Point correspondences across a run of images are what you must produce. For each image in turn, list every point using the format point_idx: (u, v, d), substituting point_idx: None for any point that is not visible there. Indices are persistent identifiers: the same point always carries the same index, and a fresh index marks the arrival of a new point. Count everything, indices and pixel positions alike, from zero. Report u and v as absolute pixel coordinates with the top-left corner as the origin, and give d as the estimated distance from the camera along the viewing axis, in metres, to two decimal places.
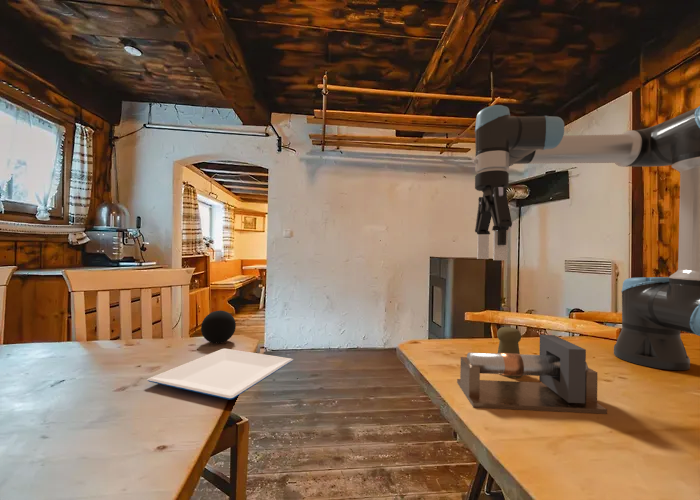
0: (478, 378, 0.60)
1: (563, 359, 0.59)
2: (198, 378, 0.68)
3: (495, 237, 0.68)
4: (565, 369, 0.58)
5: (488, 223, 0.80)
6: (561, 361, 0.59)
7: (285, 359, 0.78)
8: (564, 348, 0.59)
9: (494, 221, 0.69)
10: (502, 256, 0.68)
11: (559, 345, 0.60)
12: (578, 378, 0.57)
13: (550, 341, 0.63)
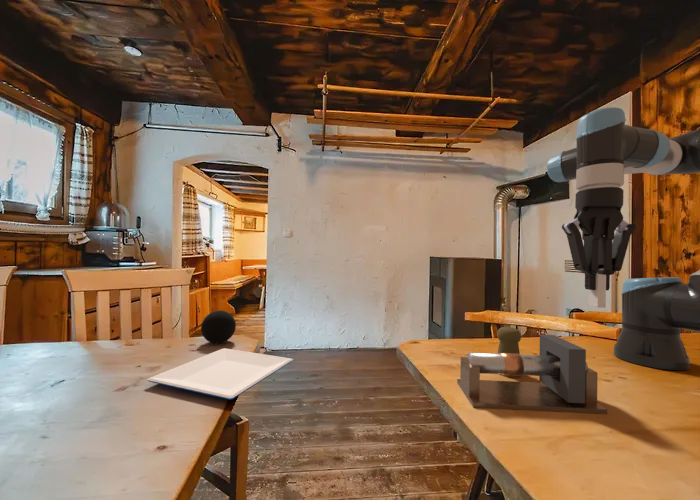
0: (478, 378, 0.60)
1: (563, 359, 0.59)
2: (198, 378, 0.68)
3: None
4: (565, 369, 0.58)
5: (604, 254, 0.61)
6: (561, 361, 0.59)
7: (285, 359, 0.78)
8: (564, 348, 0.59)
9: None
10: (594, 302, 0.61)
11: (559, 345, 0.60)
12: (578, 378, 0.57)
13: (550, 341, 0.63)
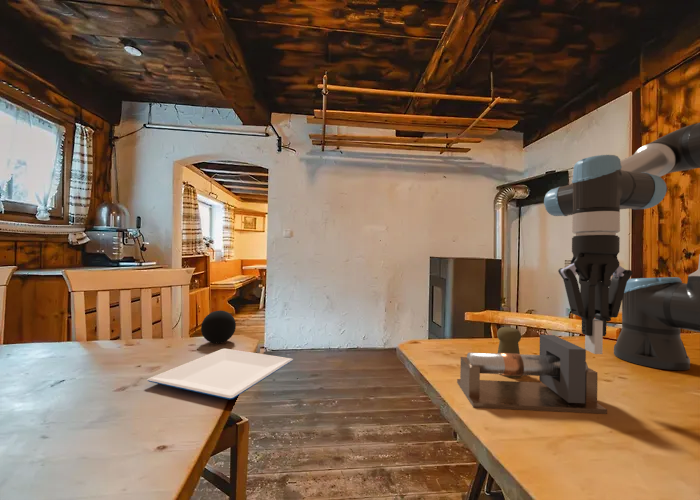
0: (478, 378, 0.60)
1: (563, 359, 0.59)
2: (198, 378, 0.68)
3: None
4: (565, 369, 0.58)
5: (600, 300, 0.61)
6: (561, 361, 0.59)
7: (285, 359, 0.78)
8: (564, 348, 0.59)
9: None
10: (591, 348, 0.61)
11: (559, 345, 0.60)
12: (578, 378, 0.57)
13: (550, 341, 0.63)
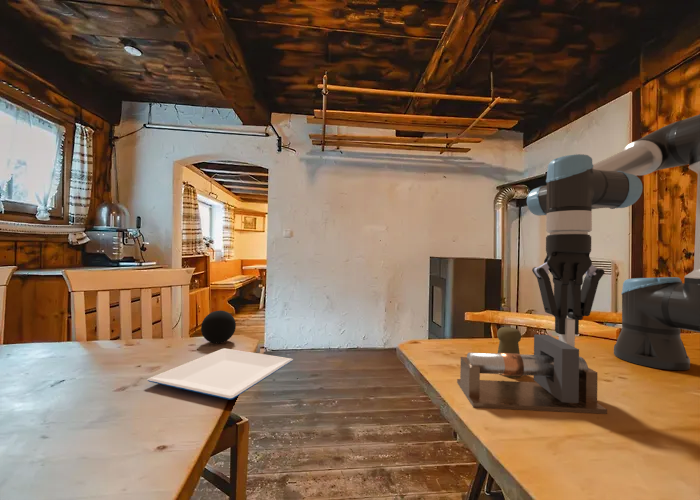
0: (478, 378, 0.60)
1: (557, 358, 0.59)
2: (198, 378, 0.68)
3: None
4: (559, 368, 0.58)
5: (573, 299, 0.61)
6: (555, 361, 0.60)
7: (285, 359, 0.78)
8: (557, 348, 0.59)
9: None
10: None
11: (553, 345, 0.60)
12: (571, 378, 0.57)
13: (544, 341, 0.63)
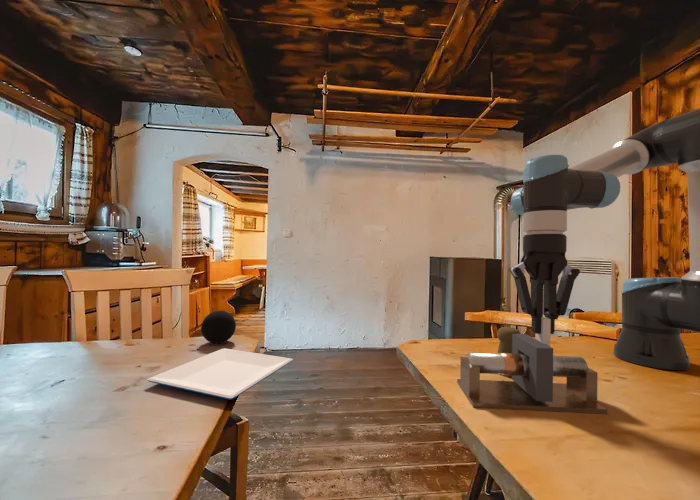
0: (478, 378, 0.60)
1: (532, 357, 0.59)
2: (198, 378, 0.68)
3: None
4: (533, 367, 0.59)
5: (549, 298, 0.62)
6: (530, 360, 0.60)
7: (285, 359, 0.78)
8: (532, 347, 0.59)
9: None
10: None
11: (528, 344, 0.61)
12: (546, 377, 0.58)
13: (521, 340, 0.64)
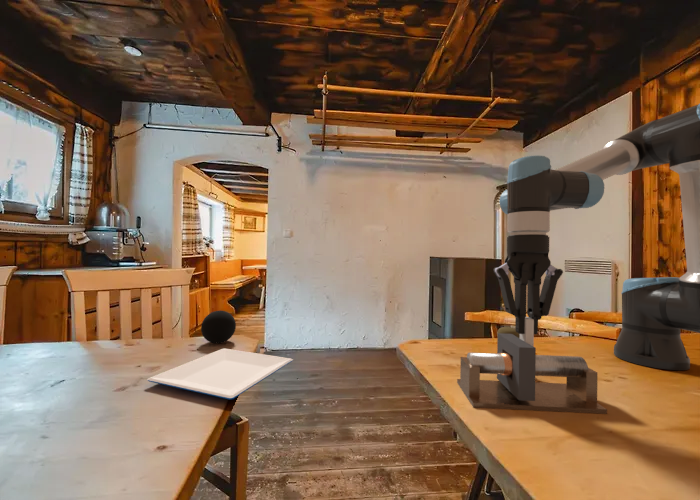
0: (478, 378, 0.60)
1: (515, 357, 0.60)
2: (198, 378, 0.68)
3: None
4: (516, 367, 0.59)
5: (532, 299, 0.62)
6: (513, 359, 0.60)
7: (285, 359, 0.78)
8: (515, 346, 0.59)
9: None
10: None
11: (512, 343, 0.61)
12: (528, 376, 0.58)
13: (505, 339, 0.64)
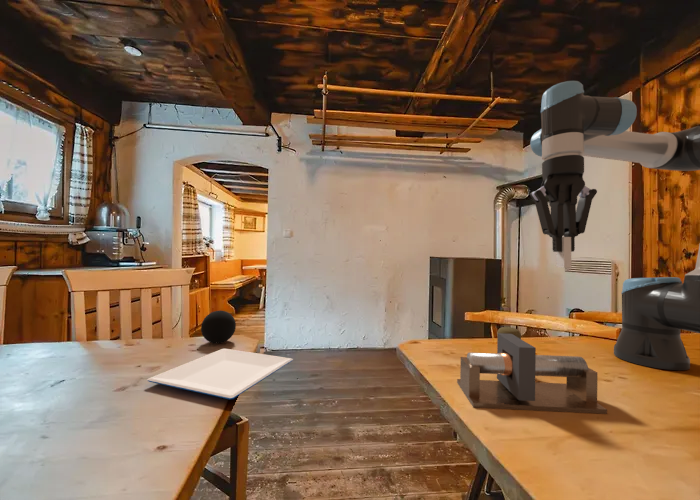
0: (478, 378, 0.60)
1: (515, 357, 0.60)
2: (198, 378, 0.68)
3: None
4: (516, 367, 0.59)
5: (569, 218, 0.66)
6: (513, 359, 0.60)
7: (285, 359, 0.78)
8: (515, 346, 0.59)
9: None
10: (561, 263, 0.66)
11: (512, 343, 0.61)
12: (528, 376, 0.58)
13: (505, 339, 0.64)
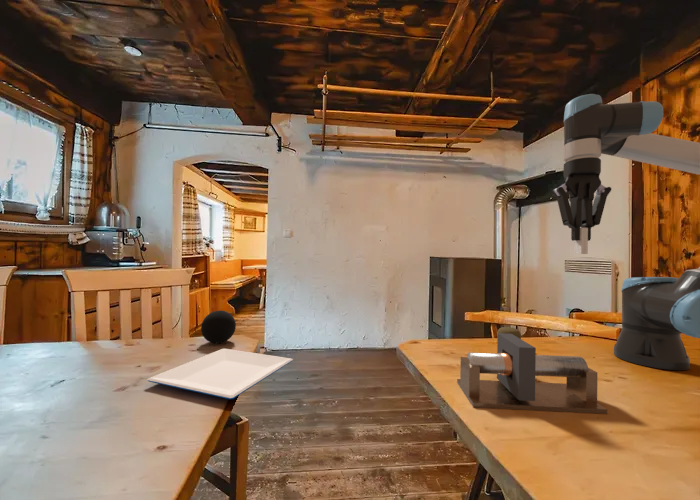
0: (478, 378, 0.60)
1: (515, 357, 0.60)
2: (198, 378, 0.68)
3: None
4: (516, 367, 0.59)
5: (586, 212, 0.76)
6: (513, 359, 0.60)
7: (285, 359, 0.78)
8: (515, 346, 0.59)
9: None
10: (578, 250, 0.77)
11: (512, 343, 0.61)
12: (528, 376, 0.58)
13: (505, 339, 0.64)
